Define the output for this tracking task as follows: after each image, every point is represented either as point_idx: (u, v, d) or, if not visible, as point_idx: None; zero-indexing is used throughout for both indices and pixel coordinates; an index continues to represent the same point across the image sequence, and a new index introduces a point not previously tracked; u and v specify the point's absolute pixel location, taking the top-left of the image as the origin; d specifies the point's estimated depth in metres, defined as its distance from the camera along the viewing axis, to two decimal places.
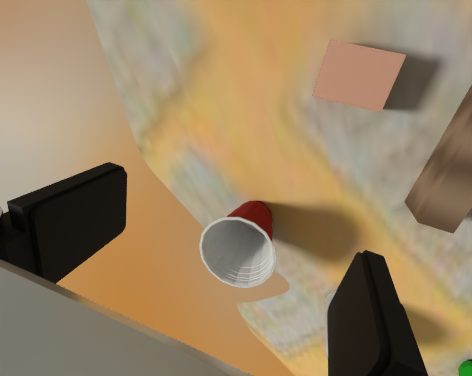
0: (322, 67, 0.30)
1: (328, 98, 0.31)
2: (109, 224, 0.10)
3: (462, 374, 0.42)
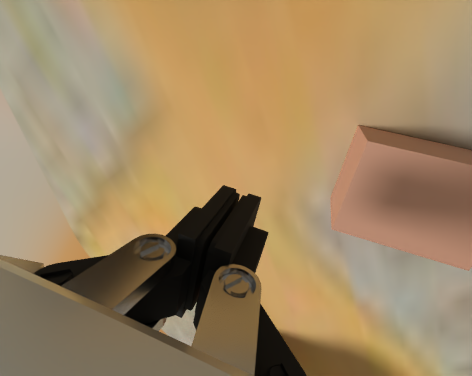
0: (352, 187, 0.16)
1: (363, 236, 0.17)
2: None
3: None
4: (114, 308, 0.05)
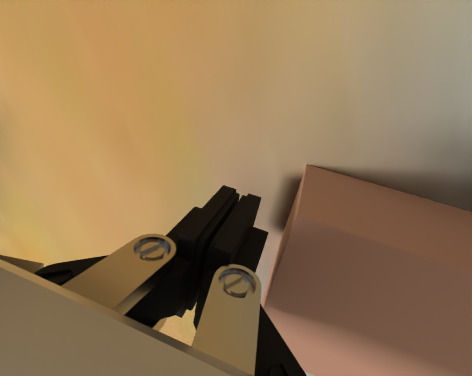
0: (276, 289, 0.08)
1: (301, 366, 0.09)
2: None
3: None
4: (114, 308, 0.05)
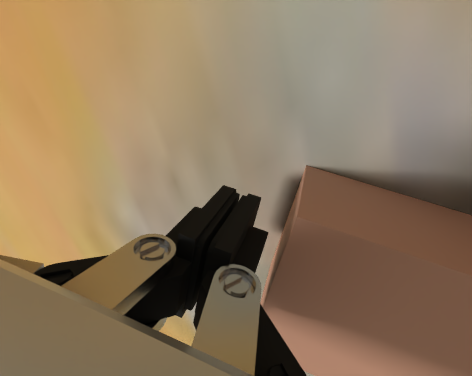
0: (275, 289, 0.09)
1: None
2: None
3: None
4: (114, 308, 0.05)
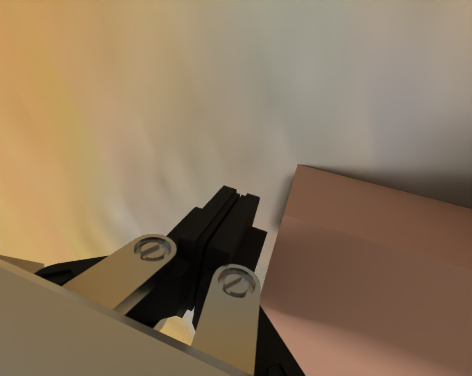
0: (267, 289, 0.09)
1: None
2: None
3: None
4: (114, 308, 0.05)
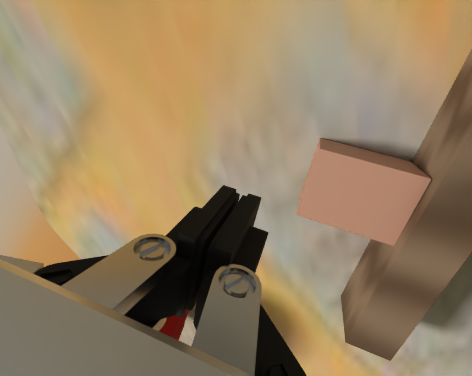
0: (310, 182, 0.21)
1: (319, 220, 0.22)
2: None
3: None
4: (114, 308, 0.05)
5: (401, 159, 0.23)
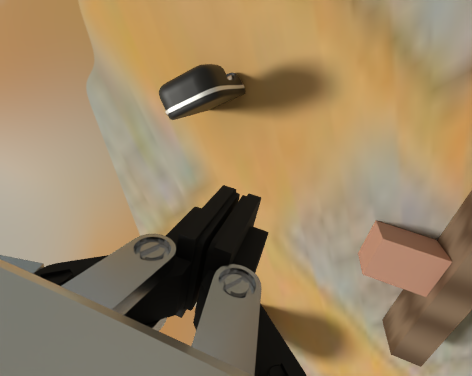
0: (374, 256, 0.34)
1: (378, 278, 0.35)
2: None
3: None
4: (114, 308, 0.05)
5: (430, 238, 0.35)
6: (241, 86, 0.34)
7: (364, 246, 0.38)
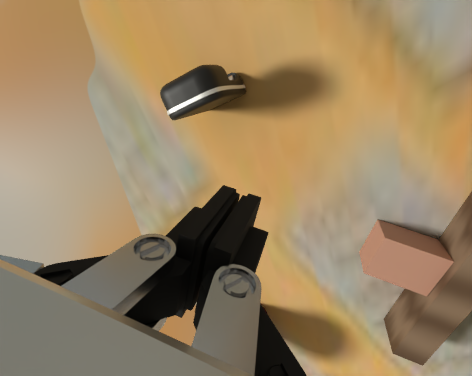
0: (375, 255, 0.34)
1: (379, 277, 0.35)
2: None
3: None
4: (114, 308, 0.05)
5: (432, 238, 0.35)
6: (242, 86, 0.34)
7: (365, 245, 0.38)
